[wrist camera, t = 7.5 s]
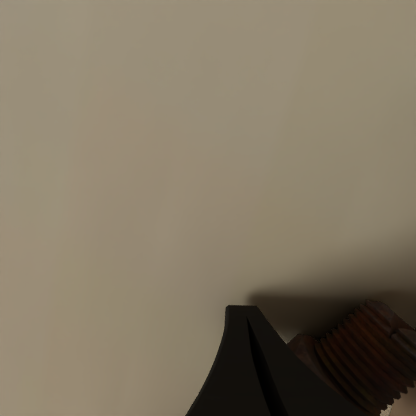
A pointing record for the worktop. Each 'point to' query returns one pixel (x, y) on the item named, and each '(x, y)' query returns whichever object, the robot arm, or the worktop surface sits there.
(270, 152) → the worktop surface
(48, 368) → the worktop surface
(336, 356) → the bolt
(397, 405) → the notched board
